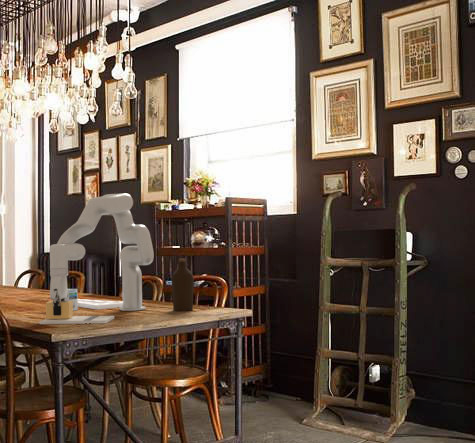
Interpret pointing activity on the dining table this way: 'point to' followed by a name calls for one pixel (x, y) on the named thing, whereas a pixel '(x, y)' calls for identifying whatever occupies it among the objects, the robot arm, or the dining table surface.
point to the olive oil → (182, 288)
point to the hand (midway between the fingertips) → (59, 313)
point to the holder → (99, 304)
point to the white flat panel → (78, 320)
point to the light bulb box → (73, 297)
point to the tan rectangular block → (65, 310)
